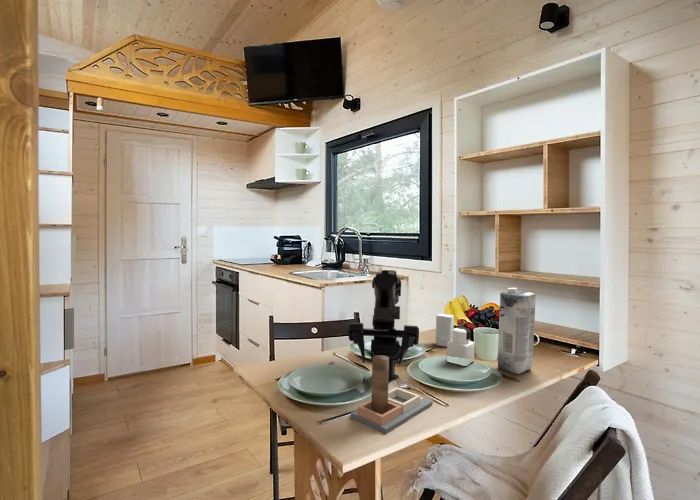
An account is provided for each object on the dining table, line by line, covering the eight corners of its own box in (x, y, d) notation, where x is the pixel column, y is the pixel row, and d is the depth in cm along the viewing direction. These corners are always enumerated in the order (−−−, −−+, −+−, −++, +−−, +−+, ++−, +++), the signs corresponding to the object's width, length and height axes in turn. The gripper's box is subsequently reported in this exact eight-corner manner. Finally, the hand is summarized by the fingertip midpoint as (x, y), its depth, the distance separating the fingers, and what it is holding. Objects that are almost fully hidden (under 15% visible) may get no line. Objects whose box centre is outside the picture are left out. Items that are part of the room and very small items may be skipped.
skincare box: (453, 345, 158) (454, 315, 157) (450, 347, 155) (451, 317, 154) (438, 342, 161) (439, 313, 161) (435, 344, 158) (436, 315, 157)
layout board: (398, 392, 112) (398, 382, 112) (432, 405, 105) (432, 394, 104) (350, 417, 97) (350, 405, 97) (386, 433, 90) (386, 420, 90)
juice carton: (535, 369, 132) (539, 289, 131) (518, 376, 126) (523, 292, 124) (510, 362, 139) (513, 285, 138) (493, 368, 133) (497, 288, 131)
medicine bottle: (454, 357, 143) (456, 324, 142) (474, 362, 139) (475, 328, 138) (446, 362, 138) (447, 328, 137) (465, 367, 133) (467, 332, 132)
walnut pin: (373, 409, 99) (374, 354, 99) (389, 412, 98) (390, 356, 97) (369, 416, 96) (370, 359, 95) (385, 419, 94) (386, 361, 94)
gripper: (349, 292, 106) (342, 346, 96) (419, 295, 104) (420, 350, 94) (352, 315, 115) (346, 366, 105) (417, 318, 112) (418, 370, 102)
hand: (381, 363), depth 101 cm, fingers open, 9 cm apart
